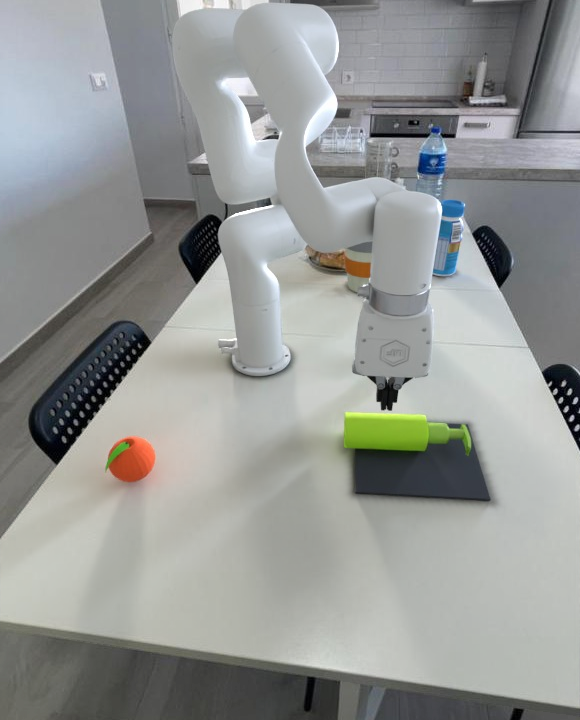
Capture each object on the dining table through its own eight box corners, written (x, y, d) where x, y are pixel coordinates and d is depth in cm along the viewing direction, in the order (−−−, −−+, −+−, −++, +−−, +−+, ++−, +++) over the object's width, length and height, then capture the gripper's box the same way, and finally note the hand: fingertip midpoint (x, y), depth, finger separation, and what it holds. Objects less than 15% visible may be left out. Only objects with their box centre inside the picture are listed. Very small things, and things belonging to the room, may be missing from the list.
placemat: (355, 493, 68) (355, 491, 68) (354, 420, 81) (354, 419, 81) (490, 500, 66) (490, 499, 66) (467, 425, 79) (467, 424, 79)
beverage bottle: (425, 275, 130) (435, 206, 119) (427, 264, 137) (437, 197, 125) (455, 278, 128) (468, 208, 117) (456, 267, 135) (469, 199, 123)
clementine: (128, 503, 67) (116, 471, 63) (99, 484, 70) (85, 452, 66) (168, 468, 72) (159, 436, 68) (139, 451, 75) (129, 420, 71)
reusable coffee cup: (393, 282, 127) (399, 230, 118) (374, 300, 118) (379, 246, 109) (354, 273, 132) (357, 222, 124) (333, 289, 124) (334, 236, 115)
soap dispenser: (345, 434, 69) (476, 438, 68) (345, 405, 75) (466, 408, 74) (344, 460, 73) (469, 465, 71) (343, 430, 78) (459, 434, 77)
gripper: (338, 308, 54) (335, 419, 65) (464, 311, 53) (440, 424, 64) (340, 281, 60) (337, 387, 71) (452, 284, 59) (432, 390, 70)
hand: (385, 404), depth 67 cm, fingers closed
